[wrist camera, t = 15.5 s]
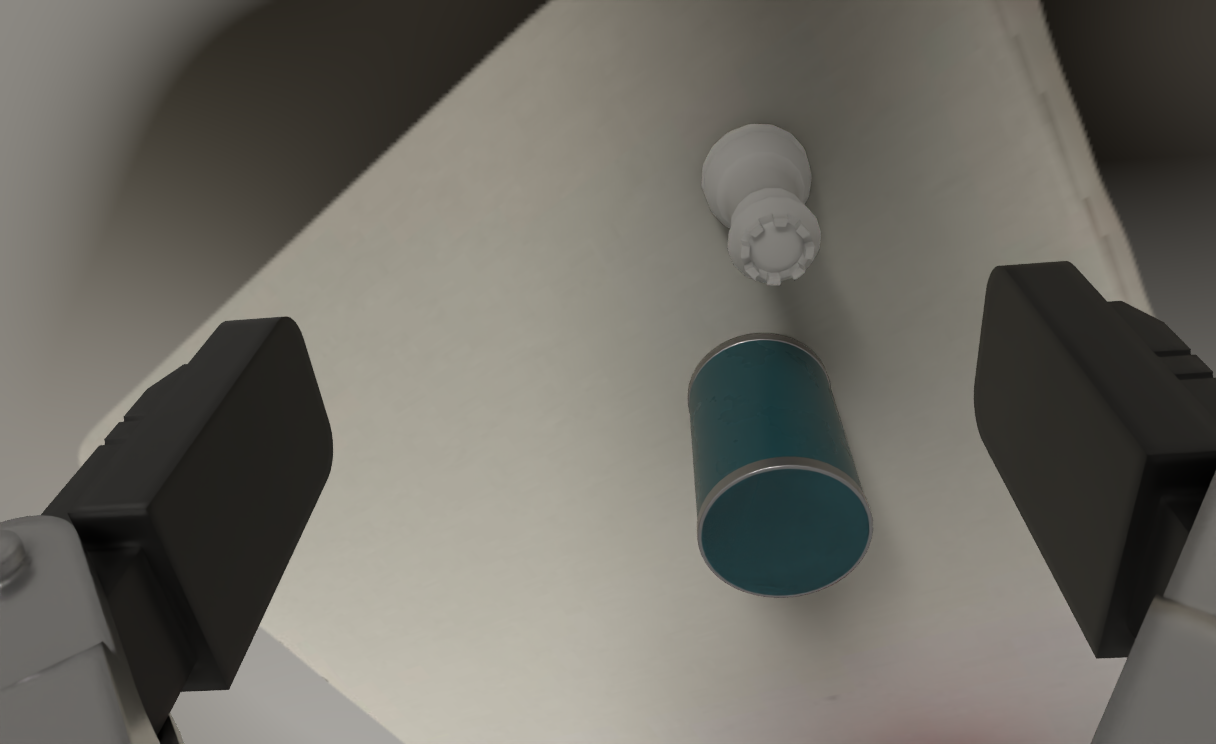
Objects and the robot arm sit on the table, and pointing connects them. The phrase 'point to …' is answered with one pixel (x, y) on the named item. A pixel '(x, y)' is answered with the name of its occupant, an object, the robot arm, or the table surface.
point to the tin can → (773, 470)
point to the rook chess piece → (763, 201)
